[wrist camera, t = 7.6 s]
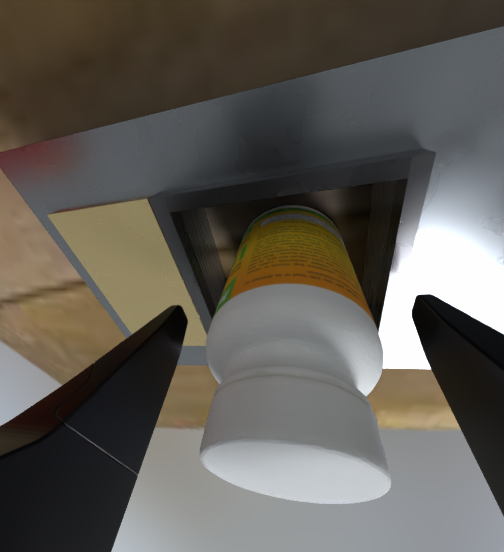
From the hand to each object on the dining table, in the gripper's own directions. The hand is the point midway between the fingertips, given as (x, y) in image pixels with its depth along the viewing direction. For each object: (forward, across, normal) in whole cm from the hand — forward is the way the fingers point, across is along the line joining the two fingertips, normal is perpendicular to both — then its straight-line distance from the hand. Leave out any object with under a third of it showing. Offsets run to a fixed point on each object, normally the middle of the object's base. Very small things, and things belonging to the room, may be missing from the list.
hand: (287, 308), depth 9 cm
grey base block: (+4, 0, 0) cm, 4 cm away
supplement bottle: (+5, 0, 0) cm, 5 cm away
